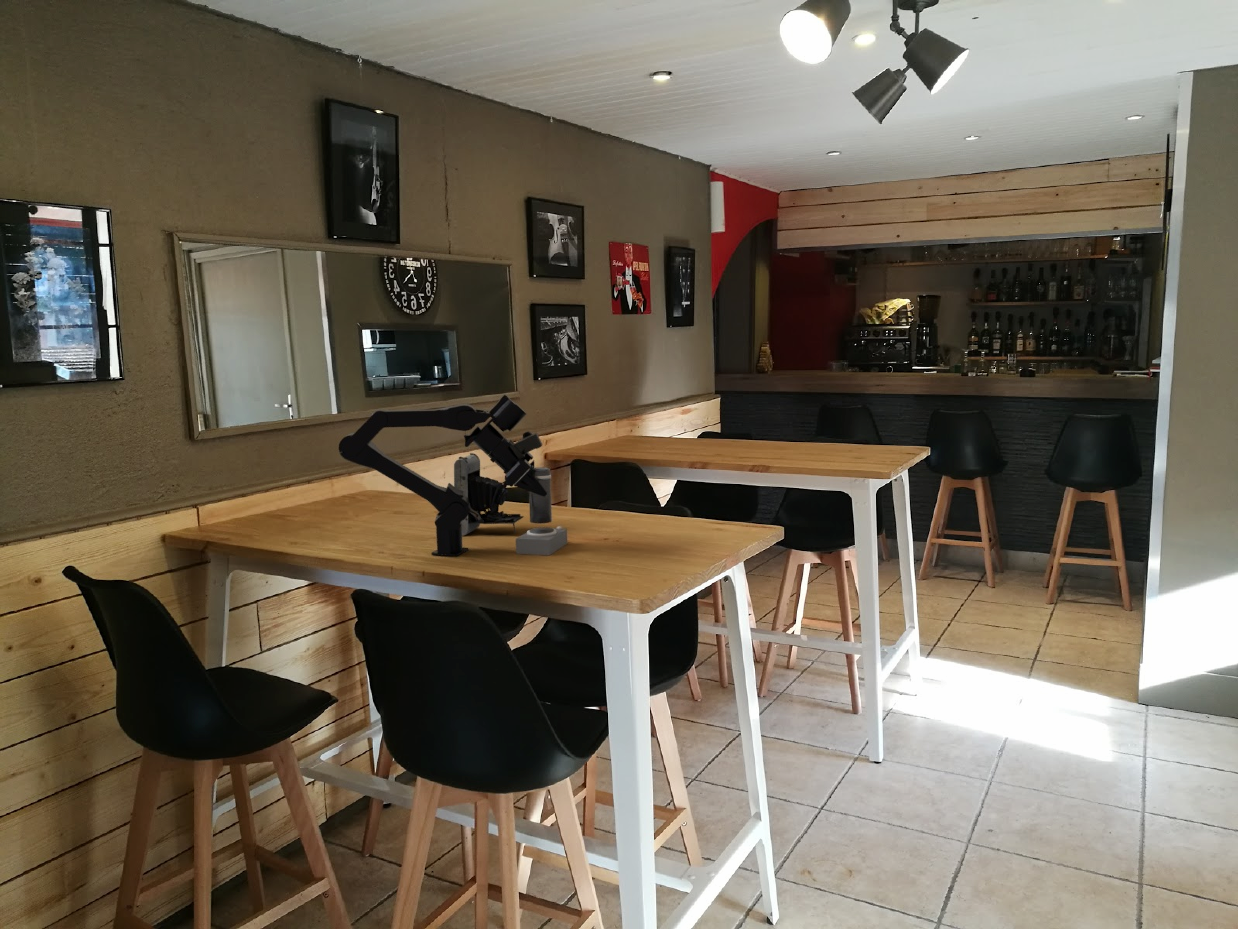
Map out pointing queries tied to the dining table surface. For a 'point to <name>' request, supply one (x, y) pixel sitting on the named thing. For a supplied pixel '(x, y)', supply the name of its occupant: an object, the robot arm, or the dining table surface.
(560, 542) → the grey rectangular block
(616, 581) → the dining table surface
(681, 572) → the dining table surface
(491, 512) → the vintage camera
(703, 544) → the dining table surface
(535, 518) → the dark grey cylinder
